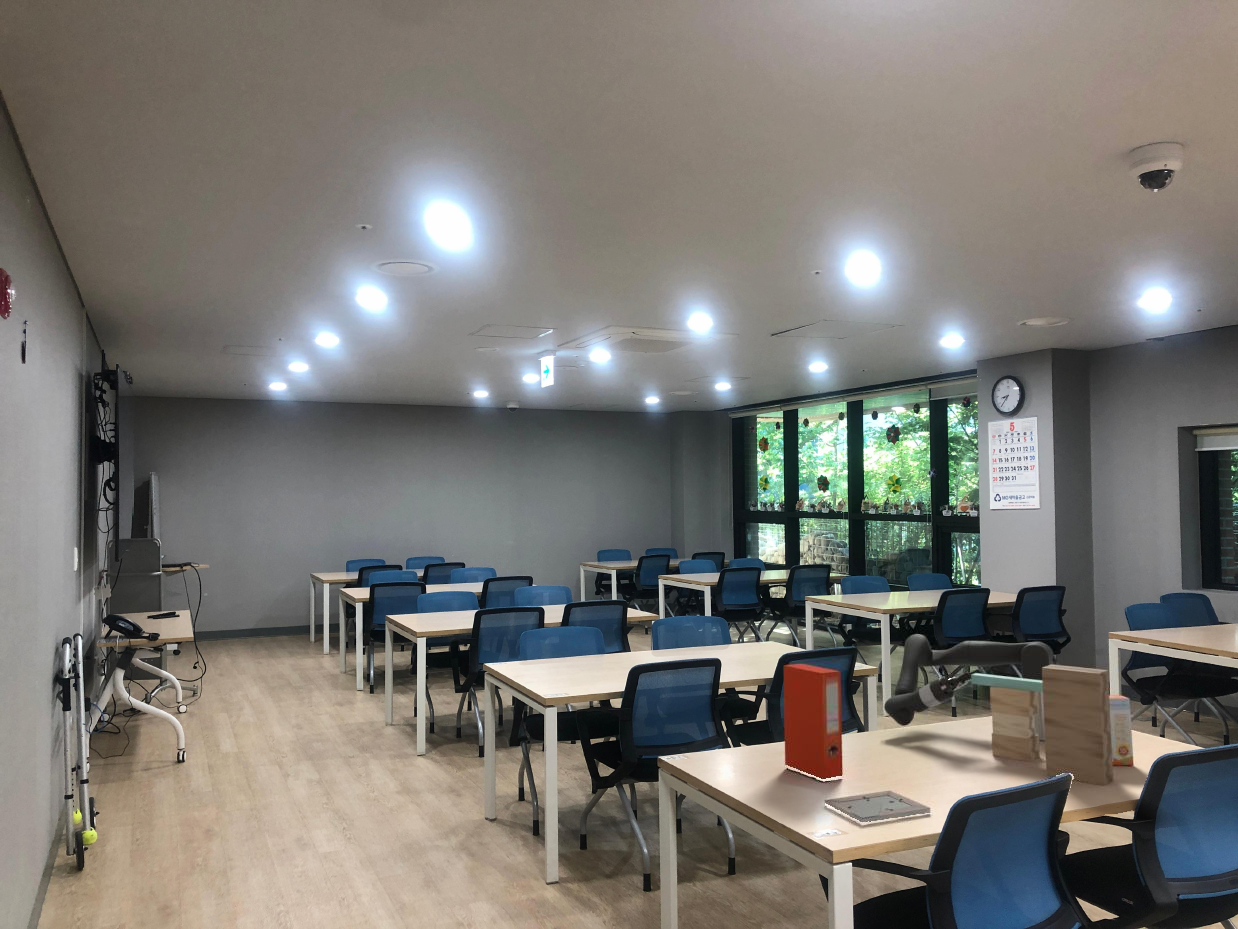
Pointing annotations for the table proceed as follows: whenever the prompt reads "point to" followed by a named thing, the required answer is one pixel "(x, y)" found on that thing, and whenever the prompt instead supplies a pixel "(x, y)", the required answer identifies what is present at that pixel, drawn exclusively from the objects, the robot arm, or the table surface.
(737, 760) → the table surface
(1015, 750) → the block
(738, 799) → the table surface
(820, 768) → the file binder
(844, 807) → the picture frame
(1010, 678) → the batten
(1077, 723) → the wooden moulding block
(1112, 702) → the cracker box
